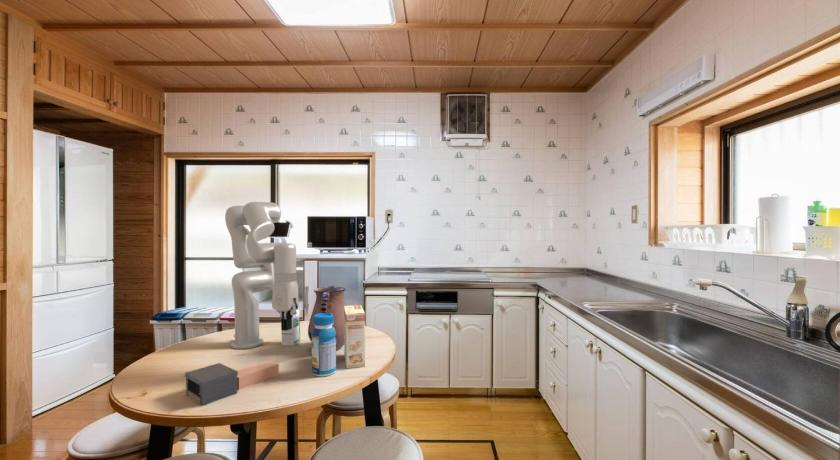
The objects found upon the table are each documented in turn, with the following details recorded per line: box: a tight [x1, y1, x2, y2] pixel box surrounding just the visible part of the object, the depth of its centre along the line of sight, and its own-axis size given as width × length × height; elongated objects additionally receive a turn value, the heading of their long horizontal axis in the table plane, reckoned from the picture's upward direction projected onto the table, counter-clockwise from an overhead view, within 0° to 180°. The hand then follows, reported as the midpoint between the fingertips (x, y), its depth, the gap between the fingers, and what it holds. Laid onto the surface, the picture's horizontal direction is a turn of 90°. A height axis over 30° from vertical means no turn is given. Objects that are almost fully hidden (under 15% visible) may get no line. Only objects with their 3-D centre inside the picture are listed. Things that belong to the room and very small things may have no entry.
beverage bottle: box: [310, 313, 337, 377], centre depth 129 cm, size 8×8×20 cm
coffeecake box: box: [343, 304, 366, 369], centre depth 140 cm, size 15×7×20 cm, turn 14°
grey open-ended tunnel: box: [184, 362, 238, 407], centre depth 113 cm, size 12×10×7 cm
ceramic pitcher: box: [307, 285, 347, 351], centre depth 153 cm, size 18×21×25 cm
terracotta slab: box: [237, 360, 280, 390], centre depth 123 cm, size 6×14×4 cm, turn 145°
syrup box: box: [280, 308, 301, 347], centre depth 161 cm, size 6×6×14 cm
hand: (286, 329), depth 133 cm, fingers closed
